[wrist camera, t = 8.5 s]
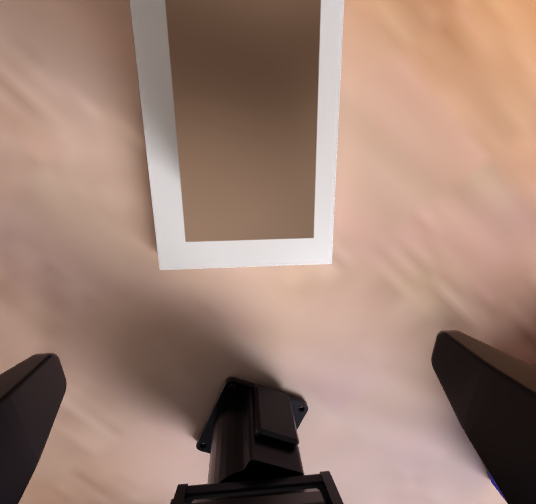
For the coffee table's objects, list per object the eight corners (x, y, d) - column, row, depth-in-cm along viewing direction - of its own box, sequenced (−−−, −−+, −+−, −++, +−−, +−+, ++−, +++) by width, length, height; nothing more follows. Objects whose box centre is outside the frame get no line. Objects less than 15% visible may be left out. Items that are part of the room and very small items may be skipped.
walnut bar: (281, 203, 18) (313, 237, 10) (209, 205, 18) (185, 242, 10) (282, -10, 15) (326, -185, 7) (195, -13, 15) (148, -198, 7)
